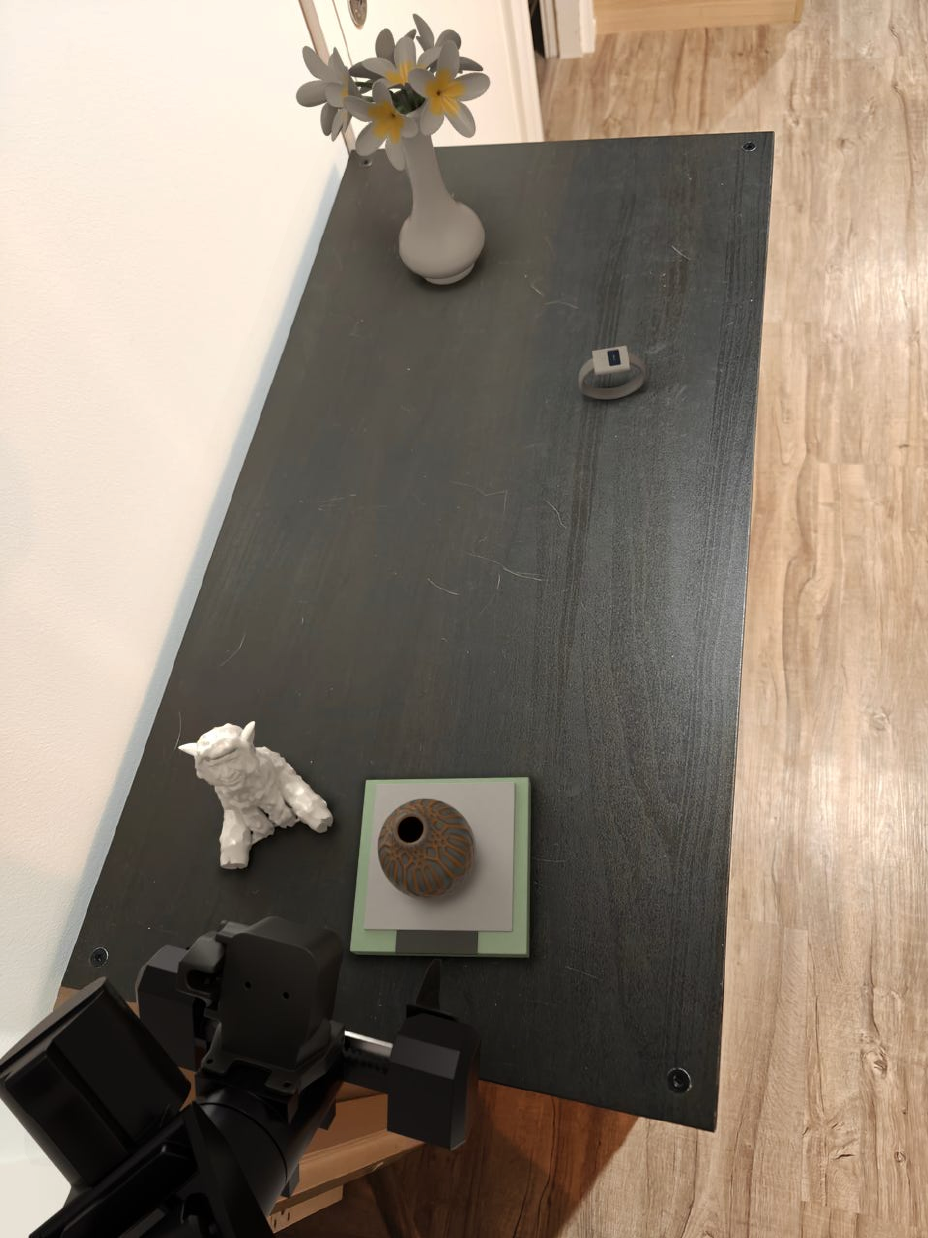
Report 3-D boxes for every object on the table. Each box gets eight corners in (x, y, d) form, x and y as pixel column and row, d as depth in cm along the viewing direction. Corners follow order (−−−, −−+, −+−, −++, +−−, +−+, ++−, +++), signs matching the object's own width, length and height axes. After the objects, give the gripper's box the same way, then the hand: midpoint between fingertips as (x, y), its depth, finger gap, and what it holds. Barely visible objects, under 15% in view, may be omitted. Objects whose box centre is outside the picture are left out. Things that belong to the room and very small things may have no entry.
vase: (379, 893, 70) (345, 865, 63) (410, 805, 73) (380, 768, 65) (466, 920, 68) (441, 894, 61) (494, 829, 71) (474, 793, 63)
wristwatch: (582, 410, 90) (578, 374, 86) (579, 388, 92) (575, 352, 87) (647, 400, 90) (646, 363, 85) (643, 378, 91) (642, 341, 87)
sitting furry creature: (229, 878, 75) (159, 838, 65) (203, 784, 79) (134, 732, 69) (338, 828, 75) (286, 780, 65) (306, 736, 80) (253, 678, 69)
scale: (529, 959, 68) (525, 955, 66) (355, 956, 70) (347, 952, 69) (531, 783, 74) (528, 775, 72) (371, 786, 76) (364, 778, 75)
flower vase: (380, 223, 108) (309, -2, 87) (536, 228, 103) (502, -10, 82) (345, 306, 103) (260, 89, 81) (507, 316, 98) (463, 86, 76)
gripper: (429, 1069, 38) (524, 864, 52) (43, 959, 43) (225, 799, 57) (421, 1270, 42) (512, 1027, 56) (65, 1147, 47) (231, 953, 61)
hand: (366, 947), depth 57 cm, fingers open, 9 cm apart
